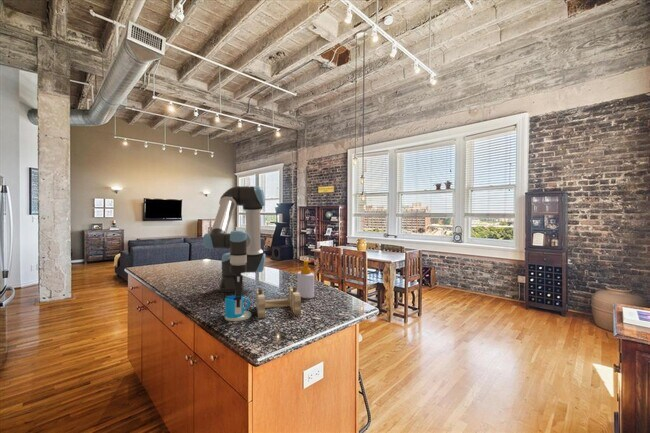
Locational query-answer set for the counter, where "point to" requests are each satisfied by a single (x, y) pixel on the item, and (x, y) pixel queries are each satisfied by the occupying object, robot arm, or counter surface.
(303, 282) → the soap bottle
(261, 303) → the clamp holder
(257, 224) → the robot arm
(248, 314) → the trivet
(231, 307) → the mug
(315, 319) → the counter surface
